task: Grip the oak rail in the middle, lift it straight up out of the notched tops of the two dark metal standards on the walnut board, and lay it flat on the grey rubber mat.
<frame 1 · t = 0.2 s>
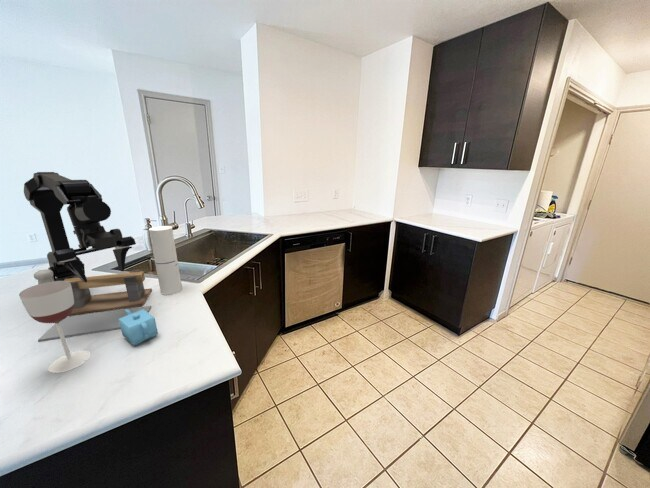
hand: (105, 276, 75), 15 cm above the counter, tool pointing down, fingers open, 9 cm apart
cylindrical container: (171, 290, 99), on the counter
wineglass: (70, 361, 63), on the counter
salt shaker: (54, 306, 87), on the counter
light blue knobbed box: (139, 336, 73), on the counter
grey mat: (101, 322, 78), on the counter
oak rail: (106, 284, 87), point 7 cm above the counter, touching rail stand
rail stand: (111, 302, 89), on the counter
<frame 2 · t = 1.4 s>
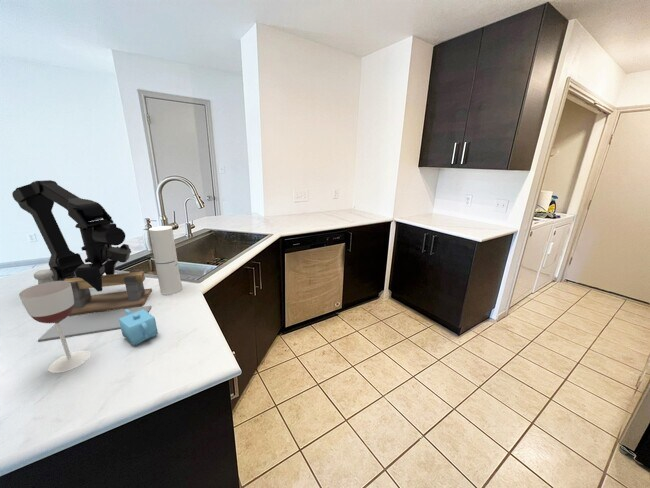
hand: (106, 285, 87), 7 cm above the counter, tool pointing down, fingers open, 9 cm apart
nothing on the counter moved.
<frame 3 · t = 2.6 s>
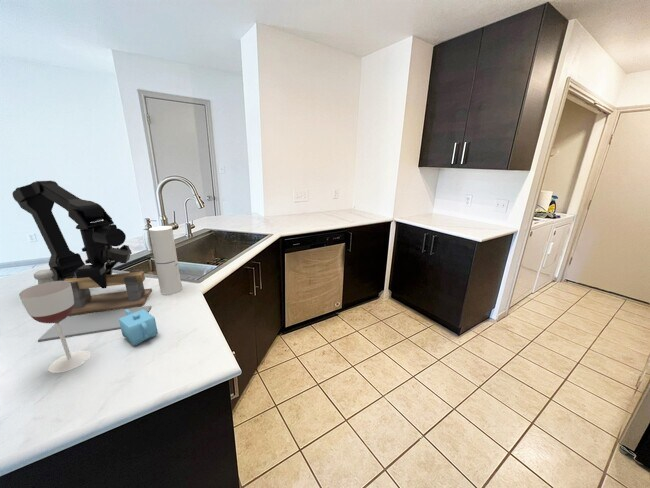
hand: (106, 286, 87), 7 cm above the counter, tool pointing down, fingers closed on oak rail, 3 cm apart
oak rail: (106, 284, 87), point 7 cm above the counter, touching gripper, rail stand
everything else where it was.
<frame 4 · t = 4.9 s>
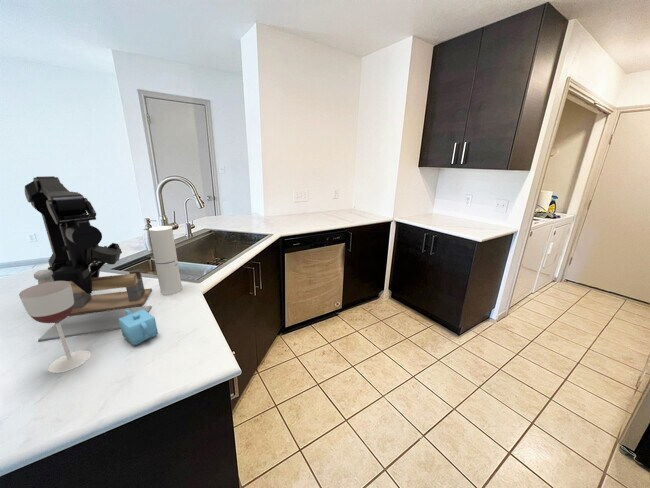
hand: (92, 290, 75), 11 cm above the counter, tool pointing down, fingers closed on oak rail, 3 cm apart
oak rail: (92, 289, 75), point 11 cm above the counter, touching gripper
everything else where it was.
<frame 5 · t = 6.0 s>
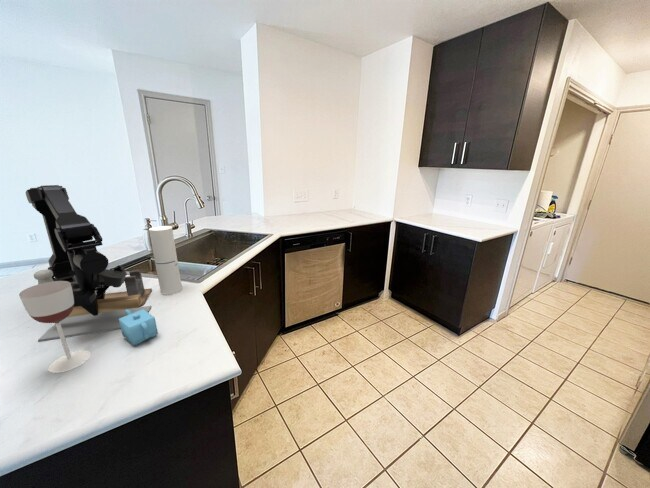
hand: (98, 312, 77), 4 cm above the counter, tool pointing down, fingers closed on oak rail, 3 cm apart
oak rail: (98, 310, 77), point 4 cm above the counter, touching gripper
everything else where it was.
when the fingers open (2 cm above the counter, at t = 7.1 s): oak rail drops 1 cm, resting on grey mat.
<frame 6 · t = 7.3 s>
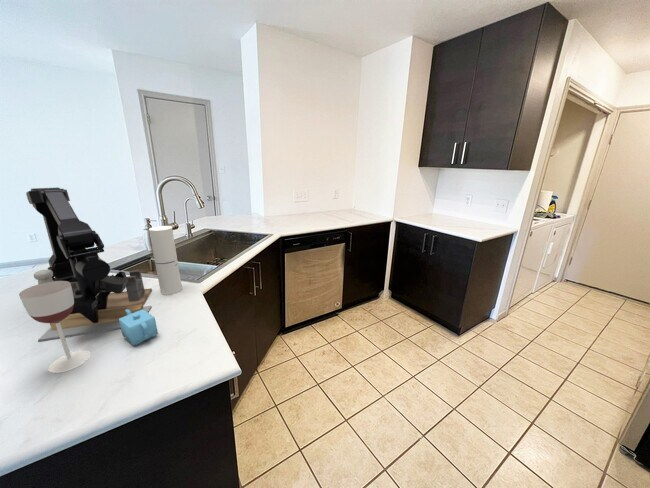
hand: (100, 318, 78), 2 cm above the counter, tool pointing down, fingers open, 5 cm apart
oak rail: (101, 320, 78), point 1 cm above the counter, touching grey mat
everything else where it was.
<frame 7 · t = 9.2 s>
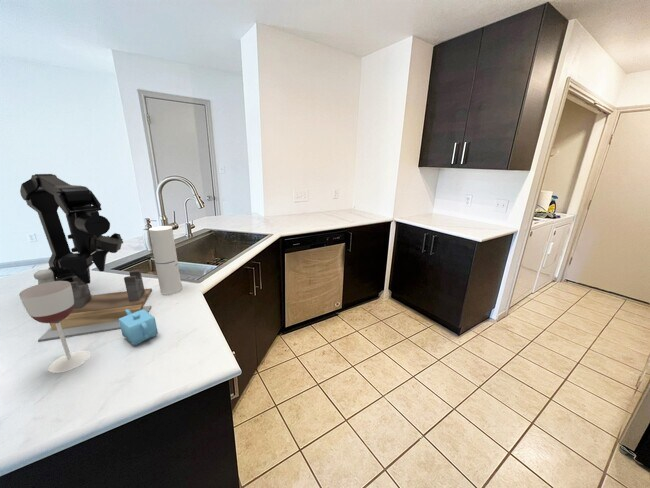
hand: (95, 277, 81), 12 cm above the counter, tool pointing down, fingers open, 9 cm apart
nothing on the counter moved.
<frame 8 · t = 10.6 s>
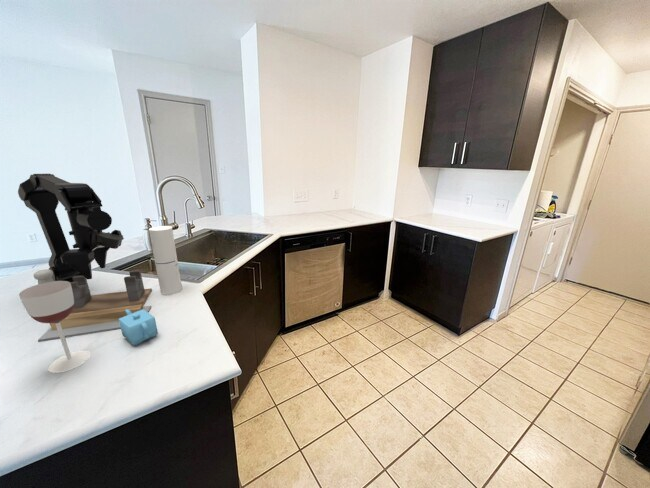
hand: (96, 273, 82), 13 cm above the counter, tool pointing down, fingers open, 9 cm apart
nothing on the counter moved.
at the end: oak rail inside the target area on the grey mat (0.0 cm from its centre), point 0.6 cm above the grey mat's base; the gripper is holding nothing; oak rail tilted 0° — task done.
